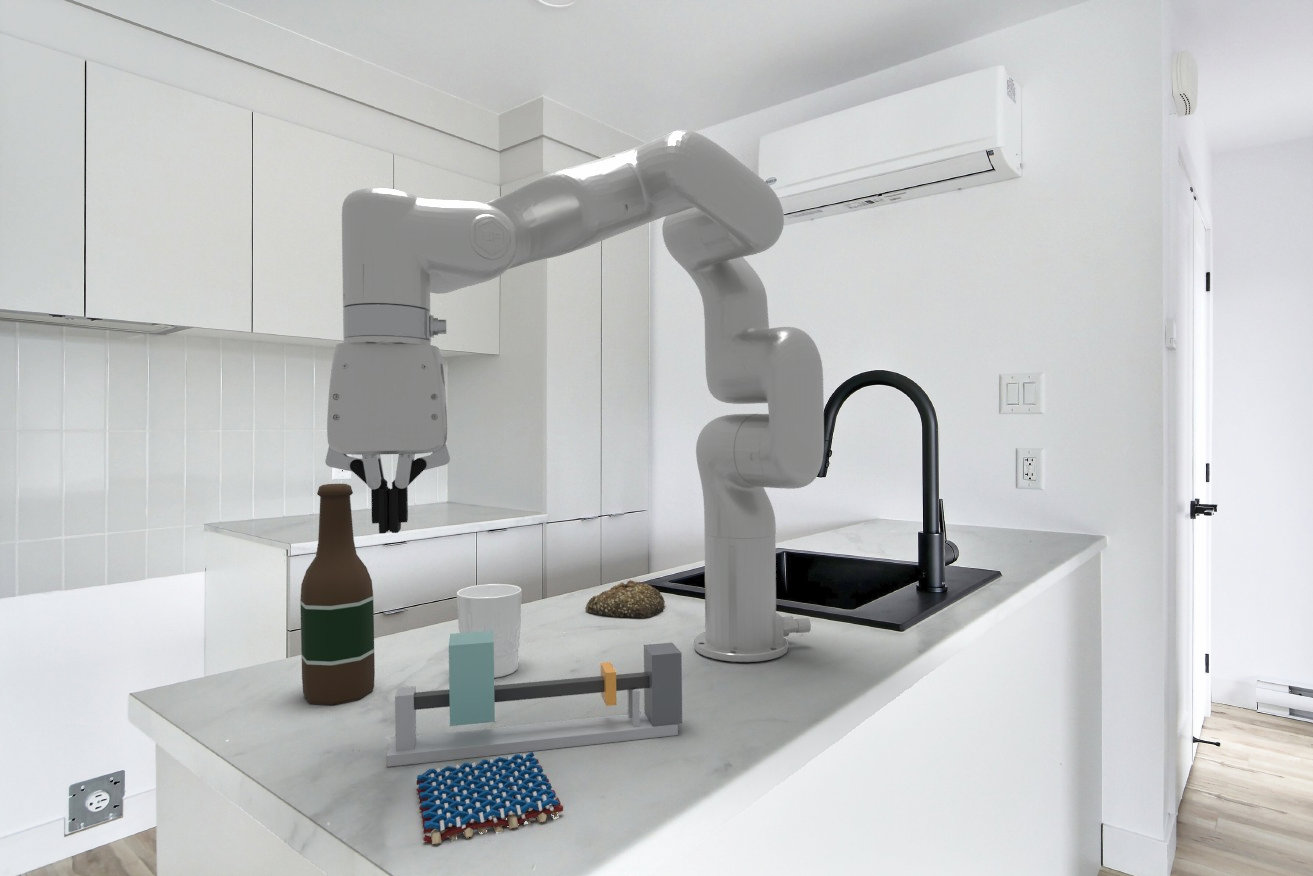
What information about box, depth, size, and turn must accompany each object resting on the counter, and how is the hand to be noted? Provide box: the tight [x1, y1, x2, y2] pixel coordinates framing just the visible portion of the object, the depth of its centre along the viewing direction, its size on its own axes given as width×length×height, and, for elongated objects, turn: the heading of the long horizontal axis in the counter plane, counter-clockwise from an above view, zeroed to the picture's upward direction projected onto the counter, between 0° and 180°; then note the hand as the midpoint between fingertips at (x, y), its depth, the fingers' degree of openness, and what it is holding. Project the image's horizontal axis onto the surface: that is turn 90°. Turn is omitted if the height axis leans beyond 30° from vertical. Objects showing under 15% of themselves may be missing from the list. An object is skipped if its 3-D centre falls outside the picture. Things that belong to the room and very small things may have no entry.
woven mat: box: [416, 751, 564, 845], centre depth 61 cm, size 10×11×2 cm
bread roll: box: [584, 579, 666, 620], centre depth 125 cm, size 13×12×5 cm
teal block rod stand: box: [386, 642, 683, 768], centre depth 73 cm, size 28×4×8 cm, turn 103°
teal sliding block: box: [448, 631, 496, 727], centre depth 71 cm, size 4×4×7 cm
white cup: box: [456, 583, 522, 679], centre depth 94 cm, size 8×8×10 cm
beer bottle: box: [299, 483, 376, 706], centre depth 86 cm, size 8×8×24 cm
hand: (390, 530), depth 69 cm, fingers closed
